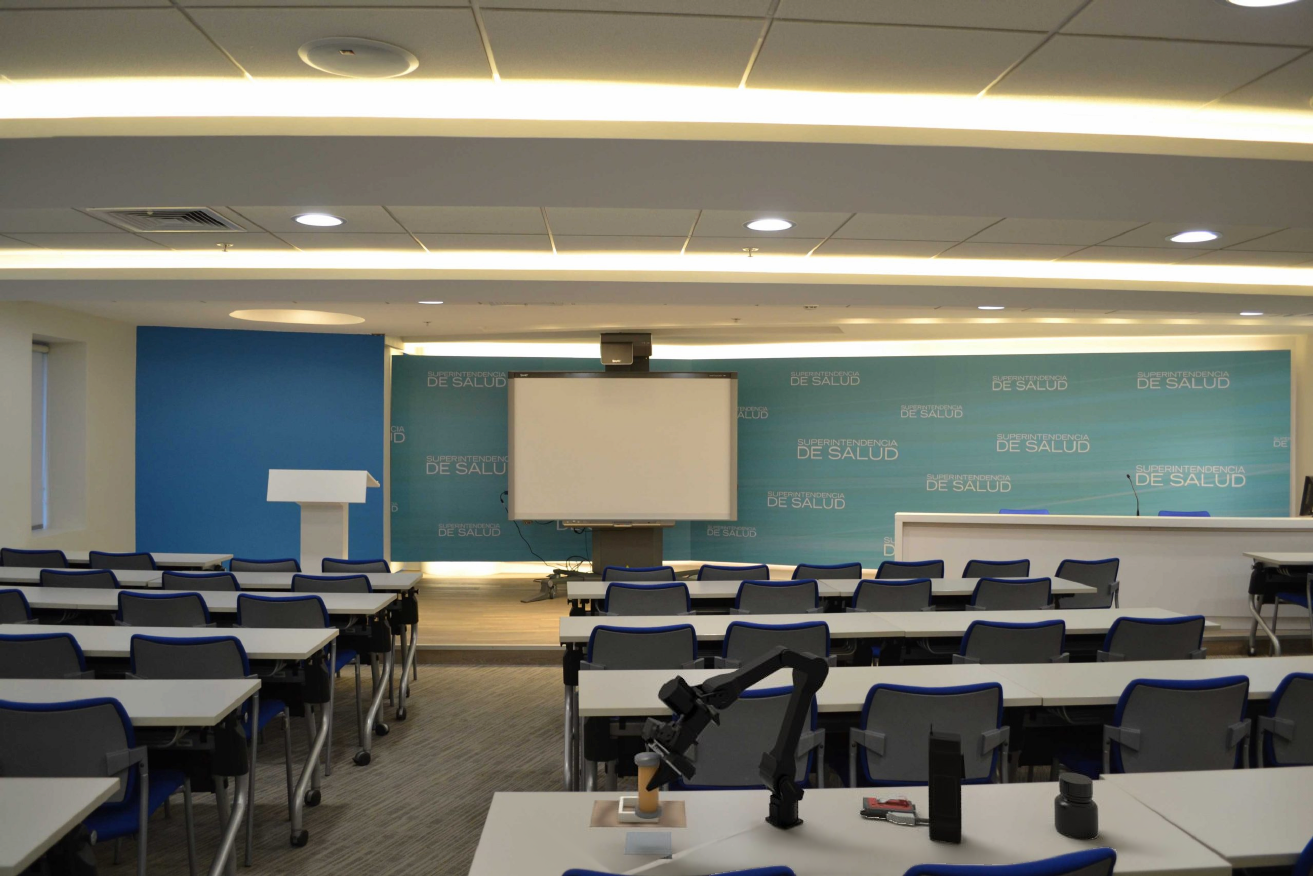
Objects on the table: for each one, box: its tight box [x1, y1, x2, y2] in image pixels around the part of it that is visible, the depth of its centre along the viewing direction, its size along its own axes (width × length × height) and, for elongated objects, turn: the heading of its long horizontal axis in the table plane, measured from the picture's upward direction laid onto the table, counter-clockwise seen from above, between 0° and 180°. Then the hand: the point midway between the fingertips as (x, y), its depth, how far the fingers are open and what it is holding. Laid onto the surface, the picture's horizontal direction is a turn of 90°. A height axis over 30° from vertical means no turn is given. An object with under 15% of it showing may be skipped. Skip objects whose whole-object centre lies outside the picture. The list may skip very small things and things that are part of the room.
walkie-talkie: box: [859, 794, 929, 826], centre depth 189 cm, size 9×4×20 cm
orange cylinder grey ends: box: [634, 751, 663, 819], centre depth 174 cm, size 6×6×12 cm
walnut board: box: [589, 799, 687, 828], centre depth 188 cm, size 22×14×1 cm, turn 90°
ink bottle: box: [1053, 772, 1099, 840], centre depth 182 cm, size 10×9×12 cm
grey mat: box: [624, 831, 673, 860], centre depth 173 cm, size 10×10×1 cm
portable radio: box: [927, 723, 967, 845], centre depth 179 cm, size 8×6×25 cm
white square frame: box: [618, 795, 658, 822], centre depth 188 cm, size 9×9×2 cm
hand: (642, 785), depth 173 cm, fingers closed on orange cylinder grey ends, 5 cm apart
